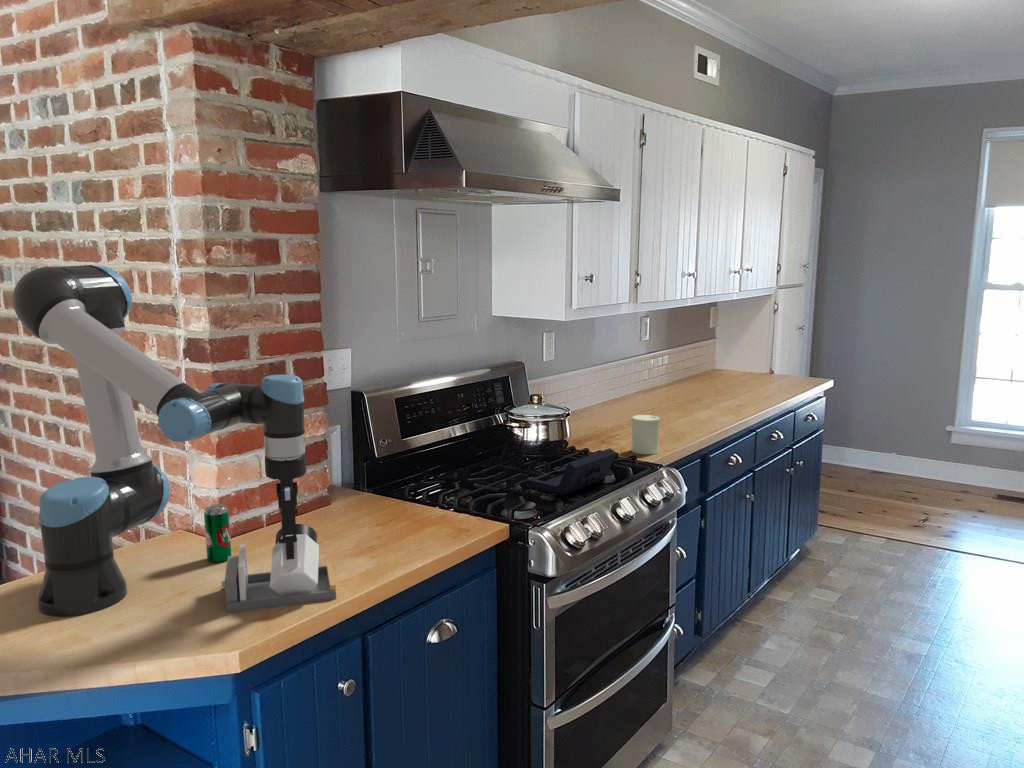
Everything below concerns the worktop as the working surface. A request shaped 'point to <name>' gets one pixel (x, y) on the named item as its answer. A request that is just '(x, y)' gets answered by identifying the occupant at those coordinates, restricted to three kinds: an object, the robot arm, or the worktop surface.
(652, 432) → the can
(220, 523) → the soda can
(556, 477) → the dark navy angled device
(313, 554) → the jar
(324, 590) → the grey tray
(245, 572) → the pusher
